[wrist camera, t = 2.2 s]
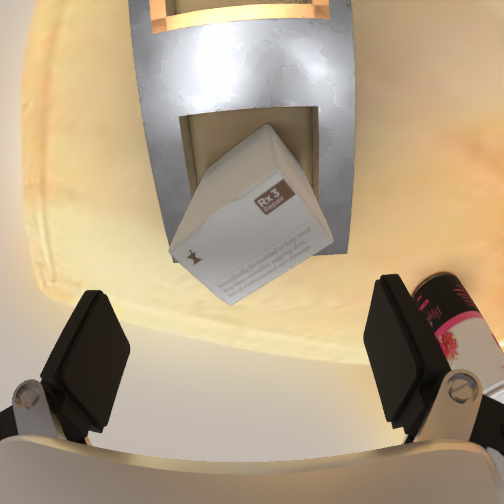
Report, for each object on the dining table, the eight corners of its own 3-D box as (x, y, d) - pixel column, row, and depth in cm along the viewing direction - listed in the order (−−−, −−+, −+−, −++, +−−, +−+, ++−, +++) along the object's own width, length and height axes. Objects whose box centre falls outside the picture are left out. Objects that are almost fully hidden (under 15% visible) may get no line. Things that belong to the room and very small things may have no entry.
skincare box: (241, 206, 25) (229, 316, 15) (203, 165, 23) (160, 255, 13) (304, 161, 23) (341, 250, 13) (267, 115, 21) (277, 167, 11)
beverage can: (400, 295, 30) (450, 419, 18) (449, 260, 28) (520, 374, 15) (420, 323, 33) (462, 432, 20) (463, 294, 30) (519, 396, 18)
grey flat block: (137, -86, 11) (125, -97, 8) (324, -103, 10) (331, -118, 8) (179, 246, 27) (173, 264, 25) (340, 237, 26) (347, 255, 24)
